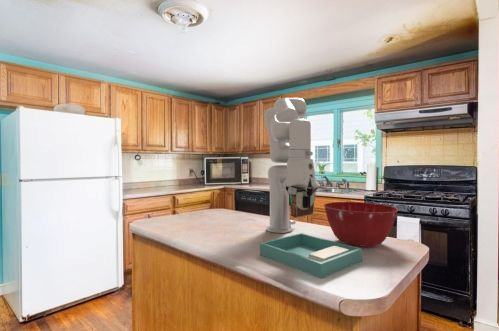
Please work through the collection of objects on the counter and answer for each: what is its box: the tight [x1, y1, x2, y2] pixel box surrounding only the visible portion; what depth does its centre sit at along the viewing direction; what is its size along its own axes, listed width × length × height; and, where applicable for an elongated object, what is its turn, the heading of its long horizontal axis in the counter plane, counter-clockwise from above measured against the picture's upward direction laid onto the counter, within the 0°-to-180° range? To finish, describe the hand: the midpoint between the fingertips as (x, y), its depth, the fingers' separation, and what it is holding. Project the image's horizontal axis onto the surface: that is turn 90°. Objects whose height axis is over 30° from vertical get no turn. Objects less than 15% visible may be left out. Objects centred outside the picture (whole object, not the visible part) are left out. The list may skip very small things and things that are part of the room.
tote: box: [259, 232, 363, 279], centre depth 97 cm, size 22×26×5 cm
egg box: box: [308, 246, 349, 262], centre depth 90 cm, size 14×6×4 cm, turn 129°
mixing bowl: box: [323, 201, 399, 249], centre depth 117 cm, size 28×28×16 cm
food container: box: [288, 186, 318, 219], centre depth 100 cm, size 12×6×10 cm, turn 132°
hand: (299, 206), depth 100 cm, fingers closed on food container, 5 cm apart
